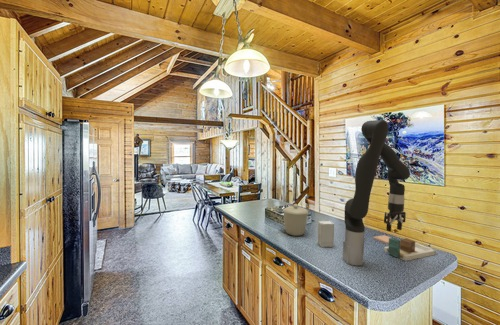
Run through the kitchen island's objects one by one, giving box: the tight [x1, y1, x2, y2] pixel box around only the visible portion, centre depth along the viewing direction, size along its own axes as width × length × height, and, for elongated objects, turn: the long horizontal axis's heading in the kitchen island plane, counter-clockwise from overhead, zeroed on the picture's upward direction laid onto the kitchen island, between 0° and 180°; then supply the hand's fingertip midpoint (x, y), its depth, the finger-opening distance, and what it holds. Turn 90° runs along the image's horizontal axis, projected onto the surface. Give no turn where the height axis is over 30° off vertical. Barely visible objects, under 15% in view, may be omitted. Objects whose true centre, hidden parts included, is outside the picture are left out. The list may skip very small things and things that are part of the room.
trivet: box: [373, 234, 391, 245], centre depth 148 cm, size 10×10×1 cm
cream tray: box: [383, 242, 437, 262], centre depth 130 cm, size 26×13×2 cm, turn 110°
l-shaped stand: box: [388, 237, 417, 258], centre depth 127 cm, size 16×9×9 cm, turn 110°
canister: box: [282, 203, 309, 237], centre depth 157 cm, size 18×18×21 cm
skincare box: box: [317, 220, 335, 248], centre depth 137 cm, size 8×6×15 cm
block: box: [400, 237, 416, 253], centre depth 129 cm, size 5×5×6 cm
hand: (394, 230), depth 125 cm, fingers open, 8 cm apart
